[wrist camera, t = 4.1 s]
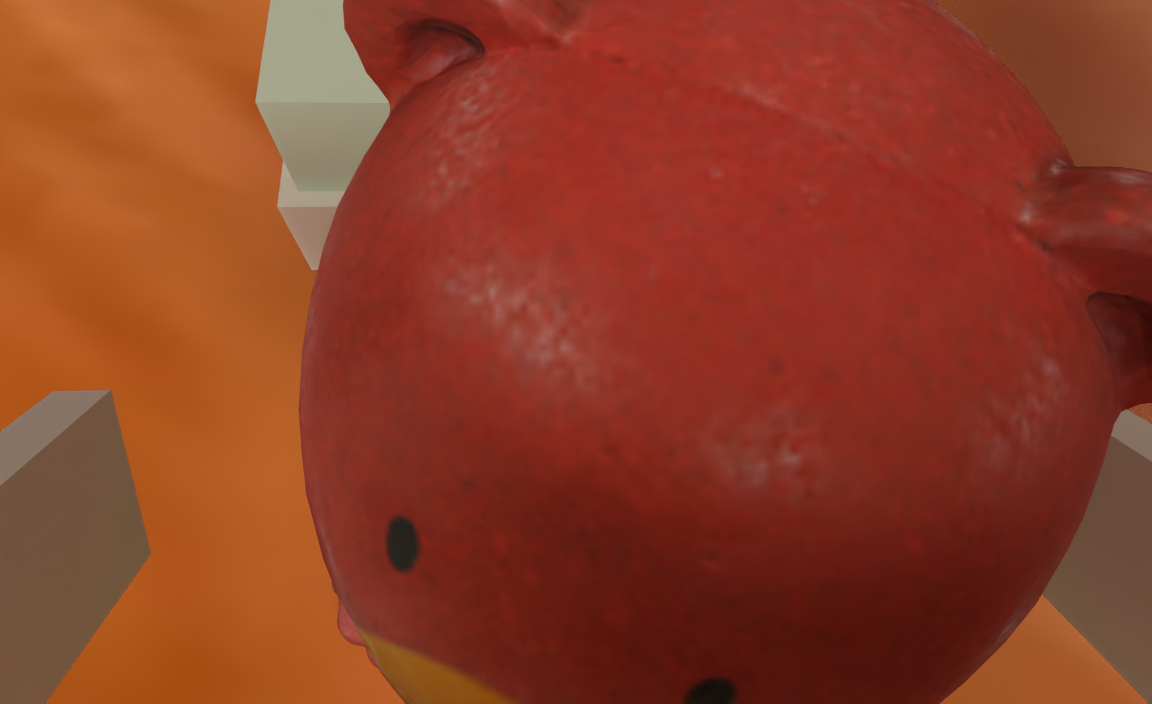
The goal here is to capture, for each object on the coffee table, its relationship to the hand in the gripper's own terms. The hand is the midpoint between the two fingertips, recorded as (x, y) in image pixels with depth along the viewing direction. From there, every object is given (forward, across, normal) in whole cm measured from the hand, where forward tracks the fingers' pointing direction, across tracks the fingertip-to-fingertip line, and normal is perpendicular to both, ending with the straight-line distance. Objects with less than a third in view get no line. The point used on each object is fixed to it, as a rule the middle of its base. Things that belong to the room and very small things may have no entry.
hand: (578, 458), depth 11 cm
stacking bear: (+7, +1, -7) cm, 10 cm away
